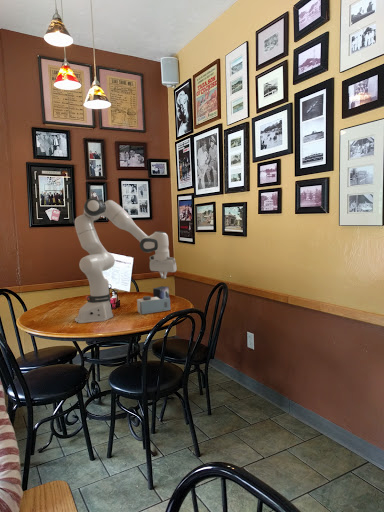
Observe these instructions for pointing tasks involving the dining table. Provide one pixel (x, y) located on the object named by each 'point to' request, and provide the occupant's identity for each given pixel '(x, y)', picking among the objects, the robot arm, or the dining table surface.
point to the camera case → (145, 298)
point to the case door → (155, 306)
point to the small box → (161, 292)
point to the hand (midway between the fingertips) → (163, 278)
